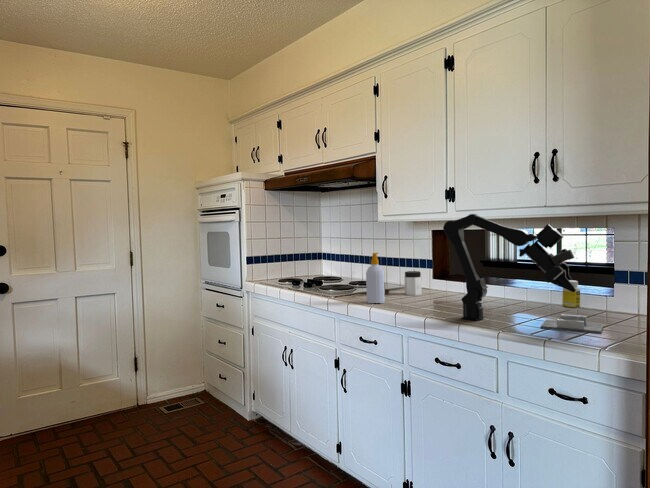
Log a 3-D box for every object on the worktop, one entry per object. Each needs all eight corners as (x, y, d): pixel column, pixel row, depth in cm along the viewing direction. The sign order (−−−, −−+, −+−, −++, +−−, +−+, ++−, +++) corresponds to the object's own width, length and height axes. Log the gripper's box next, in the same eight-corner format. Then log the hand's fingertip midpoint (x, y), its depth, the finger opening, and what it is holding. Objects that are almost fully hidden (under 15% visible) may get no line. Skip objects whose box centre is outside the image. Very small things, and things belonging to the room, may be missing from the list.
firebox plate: (540, 328, 162) (540, 318, 161) (546, 321, 172) (546, 312, 171) (600, 333, 152) (600, 323, 151) (603, 326, 162) (603, 317, 161)
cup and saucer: (394, 293, 252) (393, 282, 251) (380, 296, 243) (379, 284, 243) (376, 291, 260) (376, 280, 260) (362, 294, 252) (362, 283, 251)
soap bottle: (387, 301, 226) (386, 252, 225) (381, 304, 217) (380, 253, 217) (370, 300, 230) (369, 252, 229) (364, 303, 221) (363, 253, 220)
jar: (412, 296, 240) (412, 273, 239) (401, 294, 246) (401, 272, 246) (424, 294, 245) (424, 271, 244) (413, 292, 251) (412, 270, 251)
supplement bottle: (578, 311, 158) (579, 282, 157) (561, 309, 161) (561, 281, 160) (581, 308, 162) (581, 280, 161) (563, 307, 165) (563, 279, 165)
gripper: (554, 242, 155) (592, 277, 149) (562, 240, 170) (596, 271, 165) (529, 265, 159) (565, 299, 154) (538, 261, 175) (571, 292, 169)
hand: (575, 290), depth 160 cm, fingers closed on supplement bottle, 5 cm apart
